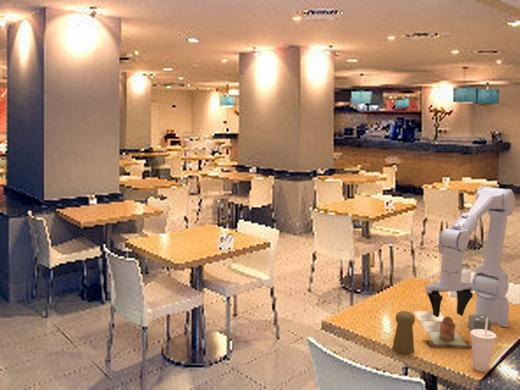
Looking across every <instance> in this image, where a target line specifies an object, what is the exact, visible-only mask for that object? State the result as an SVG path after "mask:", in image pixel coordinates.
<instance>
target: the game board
mask: <svg viewBox="0 0 520 390" xmlns="http://www.w3.org/2000/svg"><path fill="white" fill-rule="evenodd" d="M413 315H414V316H416V317H415V318H417V319H418V321H419V323H420V324H421V325H422V327H423V328H424V330H425V332H427V335H428V336H429V338H430V339H431V340H427V339H426V340H425V343H426V345H428V347H429V348H442V349H443V348H444V349H445V348H446V349H447V348H448V349H468V348H472V343H470V341H464V340H463V338H462V337H461V336H460V335H459V334H458V333H457V331H456V330H455V335H454V340H453V341H444V340H442V339H440V338H439V333H440V322H441V321H443V319H444V318H445V317H446V316H444V315H443V313H442V312H441V311H440V314H439V317H436V316H434V315H433V311H429V310H428V311H426V310H425V311H424V310H423V311H421V310H413ZM468 350H469V349H468Z"/></svg>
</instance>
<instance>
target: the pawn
mask: <svg viewBox="0 0 520 390" xmlns="http://www.w3.org/2000/svg"><path fill="white" fill-rule="evenodd" d="M444 317H445V318H444V319H443V321H439V322H440V332H439V338H440V339H442V340H444V341H453V340H454V335H455V331H456V324H455V322H454V320H453V318H452V317H450V316H444Z"/></svg>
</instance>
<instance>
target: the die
mask: <svg viewBox="0 0 520 390" xmlns="http://www.w3.org/2000/svg"><path fill="white" fill-rule="evenodd" d="M486 318H487V317H486V316H480V315H475V314H473V315H472V314H469V315H468V323H467V328H468V329H469V330H470V332H471V331H472V330H474V329H483V330H485V323H486ZM491 329H492V323H491V321H490V320H489V319H488V326H487V330H488V331H491V332H492V330H491Z"/></svg>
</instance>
